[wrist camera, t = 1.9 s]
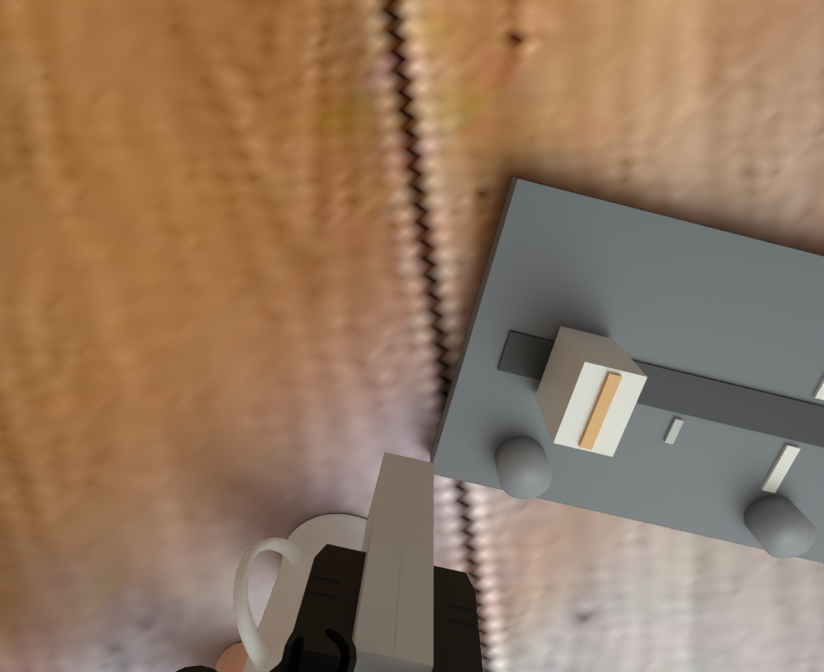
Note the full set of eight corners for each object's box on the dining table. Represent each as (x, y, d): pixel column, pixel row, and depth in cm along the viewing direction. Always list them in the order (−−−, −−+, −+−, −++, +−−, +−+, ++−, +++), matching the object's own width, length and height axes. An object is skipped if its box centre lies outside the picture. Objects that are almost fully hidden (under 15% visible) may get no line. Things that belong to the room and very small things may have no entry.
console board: (512, 176, 29) (523, 181, 25) (961, 290, 30) (1038, 312, 26) (430, 455, 35) (429, 493, 31) (804, 541, 36) (847, 588, 32)
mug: (234, 505, 37) (145, 665, 26) (340, 458, 35) (294, 607, 24) (322, 621, 40) (278, 808, 29) (422, 583, 39) (417, 766, 27)
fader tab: (560, 326, 29) (585, 363, 24) (613, 338, 29) (649, 378, 24) (535, 396, 30) (554, 445, 26) (585, 408, 31) (613, 459, 26)
